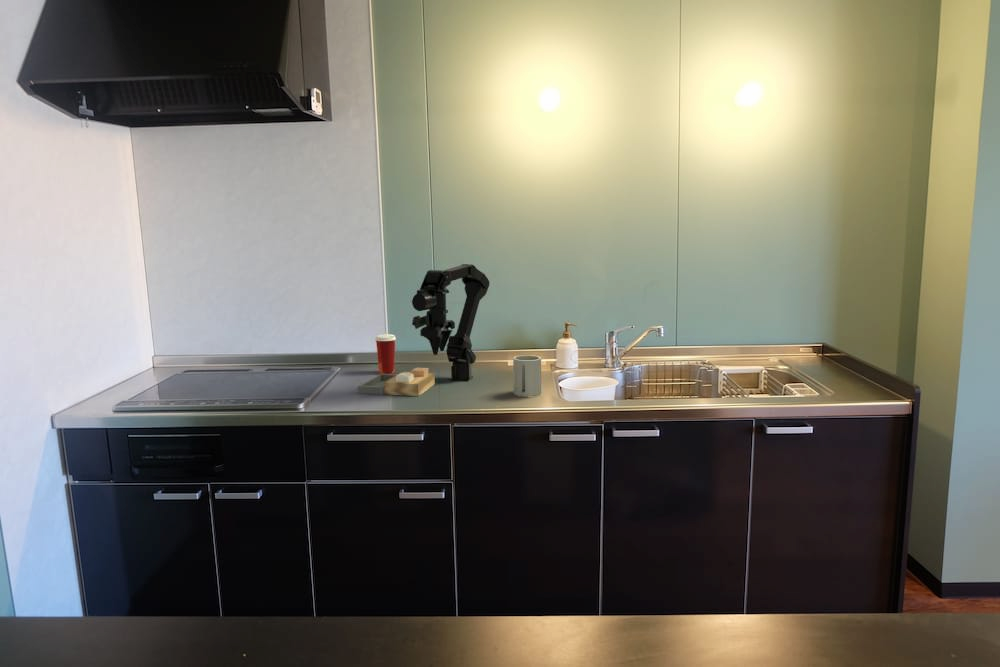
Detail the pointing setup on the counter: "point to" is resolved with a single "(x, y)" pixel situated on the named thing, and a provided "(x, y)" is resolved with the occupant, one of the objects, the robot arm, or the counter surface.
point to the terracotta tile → (420, 372)
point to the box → (374, 384)
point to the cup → (527, 375)
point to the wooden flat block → (409, 385)
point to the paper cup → (386, 353)
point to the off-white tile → (404, 377)
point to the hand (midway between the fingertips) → (438, 352)
